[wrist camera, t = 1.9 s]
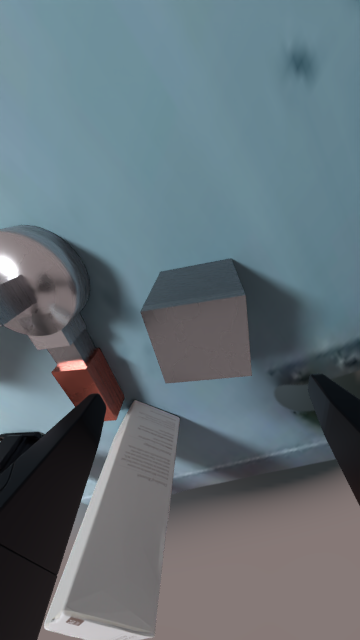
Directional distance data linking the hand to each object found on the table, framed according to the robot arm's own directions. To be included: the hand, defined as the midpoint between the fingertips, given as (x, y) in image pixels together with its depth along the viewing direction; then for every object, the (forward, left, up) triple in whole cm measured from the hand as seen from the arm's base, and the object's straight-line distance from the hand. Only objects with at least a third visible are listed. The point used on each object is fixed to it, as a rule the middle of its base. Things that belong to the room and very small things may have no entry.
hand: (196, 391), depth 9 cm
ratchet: (-2, +12, -9) cm, 15 cm away
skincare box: (-15, +9, -9) cm, 20 cm away
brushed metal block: (0, 0, -9) cm, 9 cm away
